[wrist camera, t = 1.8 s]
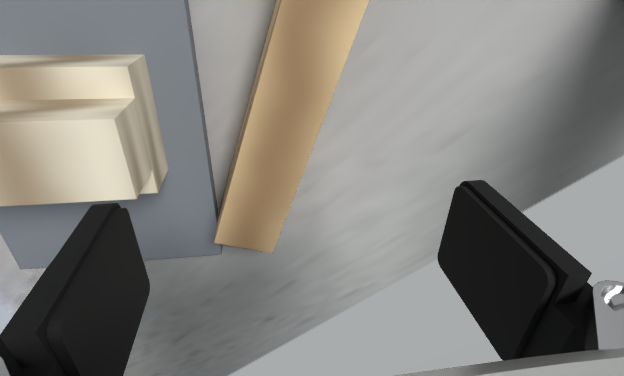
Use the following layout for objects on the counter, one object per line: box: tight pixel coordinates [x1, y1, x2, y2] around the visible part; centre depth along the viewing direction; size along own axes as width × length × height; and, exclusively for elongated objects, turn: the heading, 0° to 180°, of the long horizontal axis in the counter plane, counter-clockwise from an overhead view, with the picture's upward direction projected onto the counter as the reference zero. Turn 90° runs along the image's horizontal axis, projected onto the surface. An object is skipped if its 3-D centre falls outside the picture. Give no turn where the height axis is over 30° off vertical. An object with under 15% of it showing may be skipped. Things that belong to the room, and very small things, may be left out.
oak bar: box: [214, 0, 369, 253], centre depth 21 cm, size 4×20×4 cm, turn 160°
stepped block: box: [0, 55, 169, 206], centre depth 18 cm, size 9×7×6 cm
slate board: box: [0, 0, 223, 269], centre depth 21 cm, size 14×22×1 cm, turn 179°
